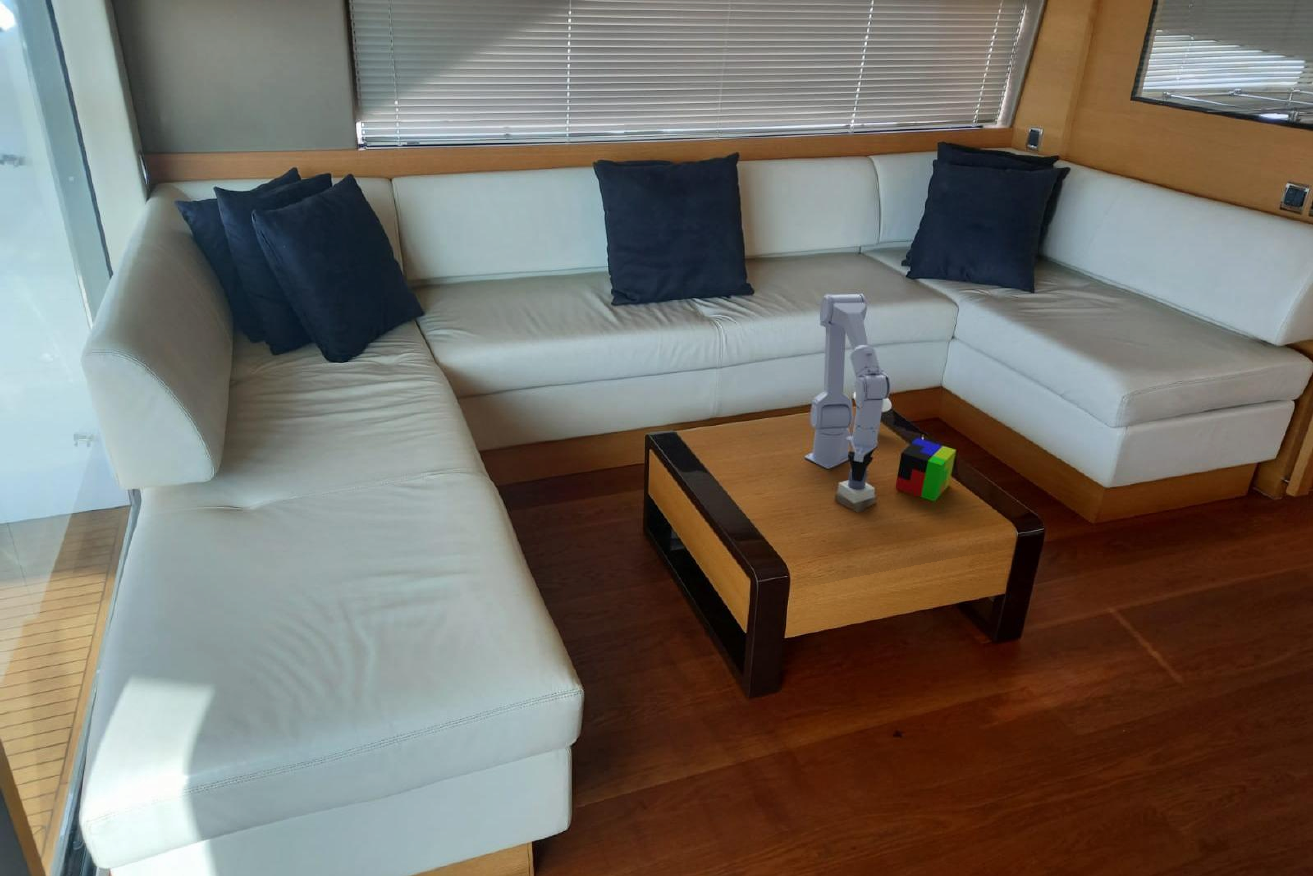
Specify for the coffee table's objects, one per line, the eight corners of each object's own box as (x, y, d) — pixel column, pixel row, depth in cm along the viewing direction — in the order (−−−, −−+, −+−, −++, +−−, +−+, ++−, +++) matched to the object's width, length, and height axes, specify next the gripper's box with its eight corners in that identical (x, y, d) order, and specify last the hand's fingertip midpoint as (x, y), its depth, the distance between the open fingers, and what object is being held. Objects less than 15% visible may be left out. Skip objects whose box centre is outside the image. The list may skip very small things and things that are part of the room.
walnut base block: (852, 493, 228) (853, 484, 227) (875, 505, 223) (877, 496, 222) (834, 502, 224) (835, 493, 223) (857, 514, 219) (858, 505, 218)
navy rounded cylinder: (853, 479, 224) (854, 464, 222) (868, 484, 222) (870, 470, 220) (844, 485, 221) (846, 471, 219) (860, 491, 219) (862, 477, 217)
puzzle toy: (910, 473, 237) (916, 438, 233) (948, 485, 232) (956, 449, 228) (895, 488, 230) (901, 452, 225) (934, 501, 225) (941, 465, 220)
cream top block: (857, 486, 226) (858, 477, 225) (873, 497, 222) (874, 488, 220) (837, 491, 223) (838, 482, 222) (853, 503, 219) (855, 494, 218)
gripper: (854, 408, 221) (847, 458, 228) (843, 433, 209) (836, 485, 215) (884, 413, 219) (876, 464, 225) (875, 439, 207) (867, 492, 213)
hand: (859, 475), depth 220 cm, fingers open, 5 cm apart
